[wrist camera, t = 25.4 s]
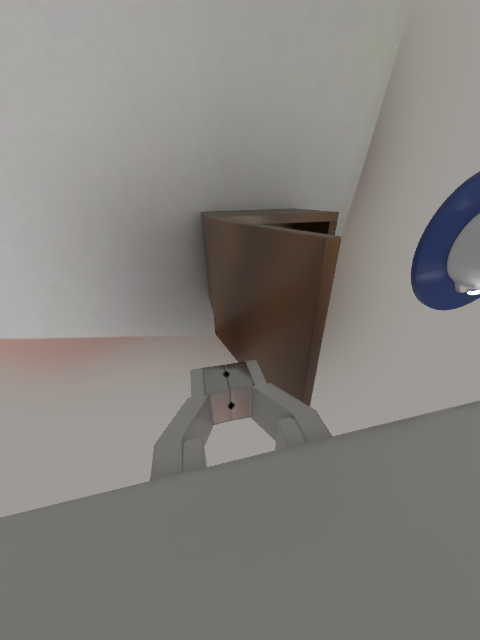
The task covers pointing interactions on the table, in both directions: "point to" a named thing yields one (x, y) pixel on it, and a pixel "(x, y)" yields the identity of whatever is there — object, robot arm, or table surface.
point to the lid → (272, 297)
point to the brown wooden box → (274, 224)
